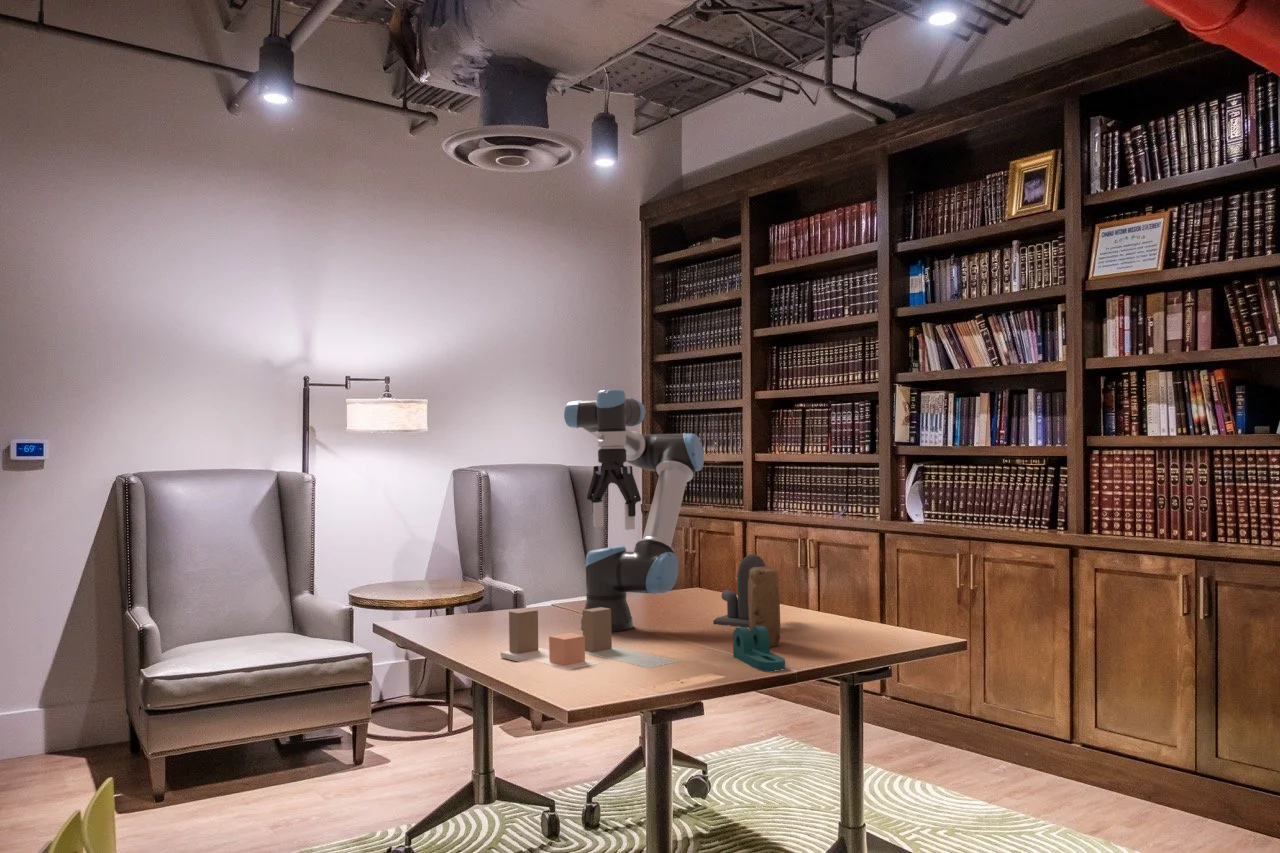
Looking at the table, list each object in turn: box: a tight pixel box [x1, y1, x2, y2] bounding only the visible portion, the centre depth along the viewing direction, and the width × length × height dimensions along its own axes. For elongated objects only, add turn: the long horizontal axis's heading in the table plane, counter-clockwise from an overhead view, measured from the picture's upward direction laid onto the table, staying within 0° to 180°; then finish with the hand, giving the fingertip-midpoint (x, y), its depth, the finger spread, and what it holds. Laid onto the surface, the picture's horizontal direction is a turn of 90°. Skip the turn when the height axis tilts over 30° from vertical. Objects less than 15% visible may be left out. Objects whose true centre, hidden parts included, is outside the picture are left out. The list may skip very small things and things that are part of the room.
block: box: [748, 566, 781, 648], centre depth 252 cm, size 11×8×20 cm
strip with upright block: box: [582, 607, 681, 669], centre depth 234 cm, size 28×10×11 cm, turn 41°
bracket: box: [732, 626, 786, 672], centre depth 229 cm, size 18×7×8 cm, turn 16°
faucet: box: [712, 553, 767, 628], centre depth 285 cm, size 18×16×20 cm
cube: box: [548, 632, 586, 665], centre depth 228 cm, size 6×6×6 cm
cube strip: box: [500, 608, 602, 671], centre depth 233 cm, size 28×10×11 cm, turn 41°
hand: (613, 528), depth 255 cm, fingers open, 13 cm apart
